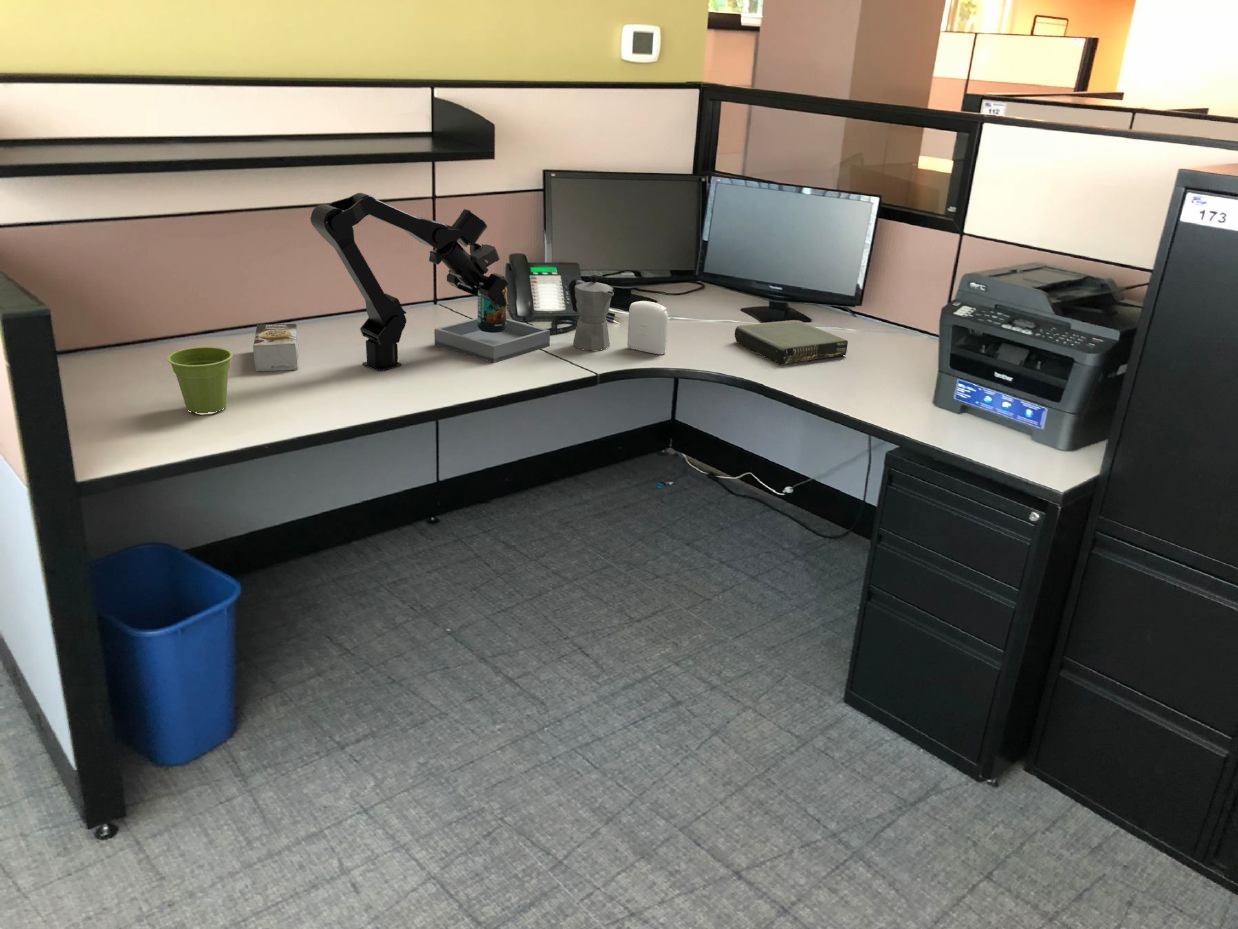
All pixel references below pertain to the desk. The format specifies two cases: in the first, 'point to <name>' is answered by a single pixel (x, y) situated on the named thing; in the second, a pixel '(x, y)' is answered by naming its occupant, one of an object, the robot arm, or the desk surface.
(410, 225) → the robot arm
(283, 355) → the coffee box
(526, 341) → the bin
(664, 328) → the photo printer
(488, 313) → the beverage can
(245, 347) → the desk surface
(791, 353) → the network switch
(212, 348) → the plant pot
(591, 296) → the coffeepot
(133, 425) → the desk surface
